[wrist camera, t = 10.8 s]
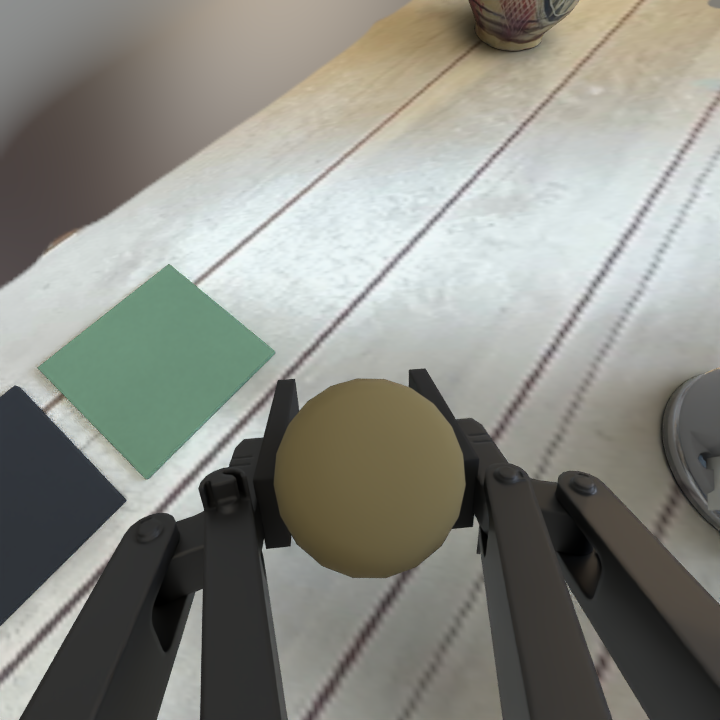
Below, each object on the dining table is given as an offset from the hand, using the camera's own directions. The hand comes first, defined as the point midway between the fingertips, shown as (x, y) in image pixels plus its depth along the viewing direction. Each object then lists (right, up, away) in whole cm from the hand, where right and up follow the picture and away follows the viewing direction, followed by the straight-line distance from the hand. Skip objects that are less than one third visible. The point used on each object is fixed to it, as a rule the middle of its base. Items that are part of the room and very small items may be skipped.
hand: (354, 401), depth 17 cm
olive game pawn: (0, -5, +2) cm, 5 cm away
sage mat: (-17, +2, +16) cm, 23 cm away
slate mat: (-27, -10, +11) cm, 31 cm away
